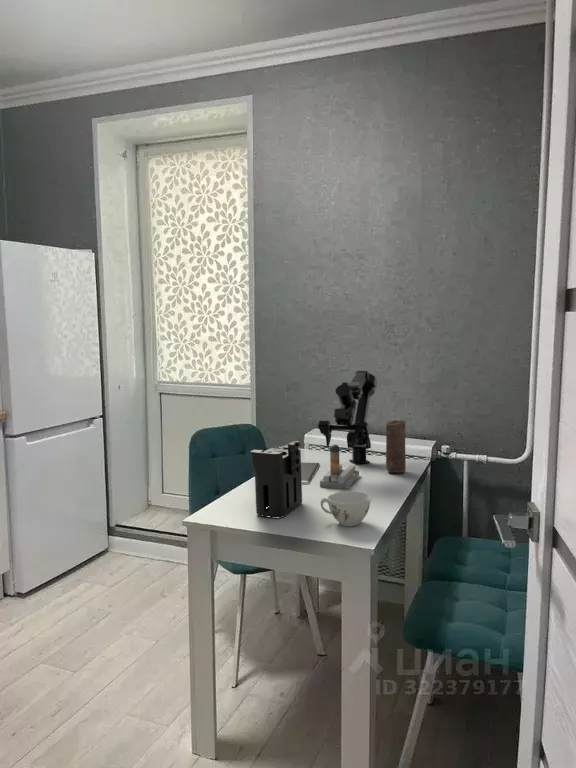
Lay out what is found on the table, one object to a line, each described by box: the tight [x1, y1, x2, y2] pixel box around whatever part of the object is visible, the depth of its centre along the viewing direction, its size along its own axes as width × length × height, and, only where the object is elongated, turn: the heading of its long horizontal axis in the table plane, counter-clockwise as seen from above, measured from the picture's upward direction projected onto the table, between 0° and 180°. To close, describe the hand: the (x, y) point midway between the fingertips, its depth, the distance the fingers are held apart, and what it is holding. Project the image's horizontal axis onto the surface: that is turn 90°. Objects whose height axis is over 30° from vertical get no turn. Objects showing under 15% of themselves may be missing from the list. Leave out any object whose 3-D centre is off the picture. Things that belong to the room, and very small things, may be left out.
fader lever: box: [329, 444, 341, 482], centre depth 206 cm, size 4×4×13 cm
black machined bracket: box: [250, 440, 303, 518], centre depth 183 cm, size 12×21×22 cm, turn 154°
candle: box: [385, 419, 406, 474], centre depth 221 cm, size 8×7×20 cm
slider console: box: [319, 463, 360, 490], centre depth 212 cm, size 17×10×4 cm, turn 159°
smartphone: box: [301, 461, 320, 485], centre depth 225 cm, size 13×27×2 cm, turn 168°
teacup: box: [320, 490, 372, 527], centre depth 170 cm, size 15×12×8 cm
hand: (339, 447), depth 211 cm, fingers open, 9 cm apart
